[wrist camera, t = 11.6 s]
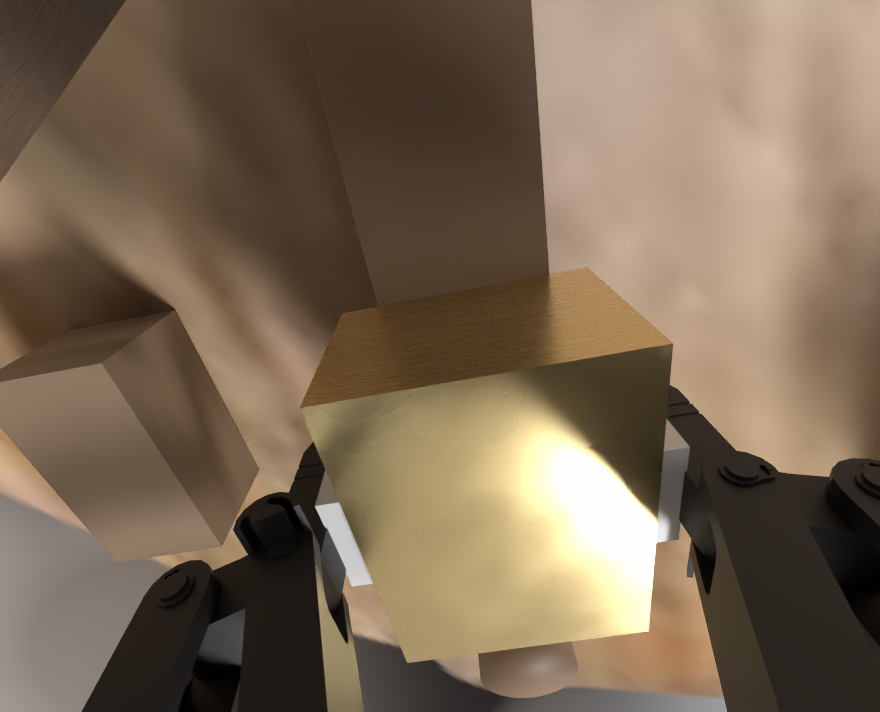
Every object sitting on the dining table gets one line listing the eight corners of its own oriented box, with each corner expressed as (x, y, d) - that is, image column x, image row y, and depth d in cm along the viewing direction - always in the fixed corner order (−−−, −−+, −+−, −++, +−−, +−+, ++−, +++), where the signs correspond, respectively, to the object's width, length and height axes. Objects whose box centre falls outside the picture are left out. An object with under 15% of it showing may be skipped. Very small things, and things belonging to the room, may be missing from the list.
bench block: (69, 329, 16) (-34, 388, 12) (174, 309, 16) (101, 363, 12) (172, 484, 20) (116, 562, 16) (258, 469, 19) (221, 546, 16)
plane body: (313, -74, 11) (-42, -696, 3) (476, -115, 11) (648, -954, 2) (456, 517, 21) (475, 763, 13) (540, 504, 21) (613, 747, 13)
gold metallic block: (342, 312, 10) (299, 408, 7) (587, 267, 10) (673, 343, 7) (412, 530, 14) (407, 662, 11) (592, 502, 14) (648, 631, 10)
